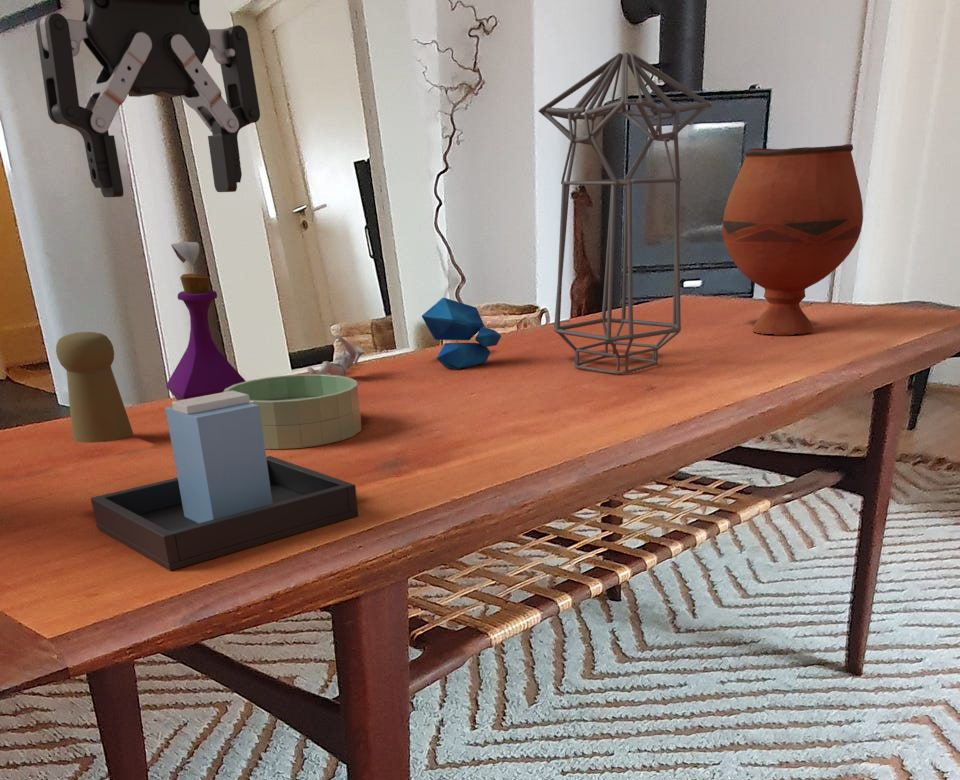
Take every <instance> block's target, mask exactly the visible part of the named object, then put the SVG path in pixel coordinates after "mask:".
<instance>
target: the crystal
mask: <svg viewBox="0 0 960 780" xmlns="http://www.w3.org/2000/svg"><path fill="white" fill-rule="evenodd" d="M421 318H422V320H423V321H424V324H425V325H426V327H427V329H428V331H429V332H430V335H431V336H432V338H433V340H435V341H470V340H472V338H473V337H475V341H476V342H445V343H444V344H443V345H442V348H441V349H440V351H439V352H438V355H437V356H436V359H437V361H438V362H439V363H440V364H441V365H442V366H443V367H444V368H445V367H447V368H446V369H451V368H452V369H453V370H462V369H461V368H463V369H467V368H471V367H470V366H472V367H475V366H474V365H476V366H479V365H478V364H481V365H483V364H482V363H485V364H486V363H487V361H488V359H489V356H490V354H491V351H490V349H489V348H488V347H494V346H495V347H496V346H497V345H498V343H499V342H500V340H501V338H502V335H501V334H500V333H499V332H498V331H496V330H495V329H492V328H489V327H485V324H484V322H483V319H482V317H481V314H480V313H479V310H478V308H477V307H476V306H472V305H470V304H466V303H464V302H459V301H456V300H453V299H450V298H447V297H441V298H440V299H439V300H438V301H437V302H436V303H434V305H432V306H430V308H428V310H427V311H425V312H424V313H423V314H422V315H421ZM475 335H476V336H475ZM466 367H467V368H466ZM452 369H451V370H452Z"/></svg>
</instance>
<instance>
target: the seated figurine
mask: <svg viewBox="0 0 960 780" xmlns="http://www.w3.org/2000/svg"><path fill="white" fill-rule="evenodd" d="M333 338H336V339H337V340H335V343H342V345H343V347H344V350H343V351H342V352H340V353H339V354H338V355H336V356H335V358H334V359H333V361H332V362H330V361H329V360H326V361H325V360H324V361H322V363H321V365H320V368H319V370H316V369H314V368H313V367H310V366H309V367H308V368H307V372H308V374H327V375H339V376H344V377H346V375H347V372H348V371H349V369H350V368H351V367H353V366H354V365H353V364H355V365H357V364H358V361H359V359H360V357H361V356H363V355H364V354H365V353H366V351H365V350H364V349H362V348H361V347H358V346H355V345H352V344H351V343H350V342H349V341H348V340H346V339H345V338H343V337H342V336H339V335H334V336H333Z"/></svg>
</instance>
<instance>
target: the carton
mask: <svg viewBox="0 0 960 780" xmlns="http://www.w3.org/2000/svg"><path fill="white" fill-rule="evenodd" d="M249 402H250V399H249V395H248V394H244V393H240V392H237V391H228V392H222V393H217V394H211V395H206V396H201V397H195V398H190V399H184V400H179V401H178V400H174V401H172V402H171V406H165V408H164V409H165V415H166V420H167V427H168V432H169V437H170V438H169V439H170V443H171V450H172V454H173V460H174V465H175V471H176V478H178V483H179V489H180V494H181V500H182V505H183V511H184V516H185V517H187V518H189V519H191V520H193V521H195V522H197V523H202V522H206V521H209V520H213V519H217V518H220V517H224V516H228V515H232V514H235V513H239V512H243V511H247V510H250V509H254V508H258V507H261V506H265V505H269V504H273V503H272V496H271V488H270V481H269V474H268V466H267V459H266V457H267V453H266V449H265V444H264V437H263V429H262V422H261V415H260V407H259V405H256V404H252V403H249Z"/></svg>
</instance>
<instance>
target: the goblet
mask: <svg viewBox="0 0 960 780" xmlns="http://www.w3.org/2000/svg"><path fill="white" fill-rule="evenodd" d="M853 150H854V146H853V144H852V143H845V144H841V145H830V146H813V147H812V146H811V147H810V146H804V147H791V148H763V147H762V148H760V147H759V148H758V147H755V148H748V149H747V150H745V151H744V152H745V153H744V155H745V158H744V160H743V162H742V165H741V167H740V169H739V171H738V174H737V177H736V178H735V181H734V184H733V186H732V188H731V190H730V193H729V196H728V198H727V202H726V205H725V207H724V211H723V217H722V227H721V231H722V240H723V244H724V247H725V249H726V251H727V254H728V256H729V257H730V259H731V260H732V262H733V263H734V265H735V266H736V267H737V269H738V270H739V271H740V272H741V273H742V275H744V276H745V277H746V278H747V279H748V280H750V281H751V282H753V283H754V284H756V285H757V286H759V287H761V288H763V289H764V294H763V297H764V299H765V300H766V301H767V302H768V303H769V304H768V306H767V309H766V310H765V311H764V312H763V313H762V314H761V315H760V316H759V318H758V319H757V320H756V321H755V322H754V324H753V327H752V330H753V331H754V332H756V333H755V334H757V333H762V334H761V335H763V334H774V335H773V336H795V335H794V334H799V335H806V333H807V334H810V332H811V333H812V332H813V331H814V327H813V323H812V321H811V320H810V319H809V317H807V315H806V314H805V313H804V311H803V310H802V308H801V305H800V304H801V302H802V301H803V300H804V299H805V298H806V290H807V289H808V288H810V287H812V286H814V285H815V284H818V283H819V282H820V281H822V280H824V279H825V278H826V277H827V276H829V275H830V274H831V273H833V272H834V271H835V270H836V269H837V268H838V267H839V266H840V265H841V264H842V263H843V262H844V261H845V260H846V259H847V258H848V257H849V255H850V254H851V252H852V251H853V249H854V248H855V246H856V244H857V242H858V241H859V238H860V235H861V232H862V228H863V222H864V208H863V207H864V206H863V199H862V192H861V188H860V184H859V179H858V175H857V171H856V166H855V161H854V158H853V154H852V151H853ZM753 331H752V332H753ZM754 332H753V333H754Z"/></svg>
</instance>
